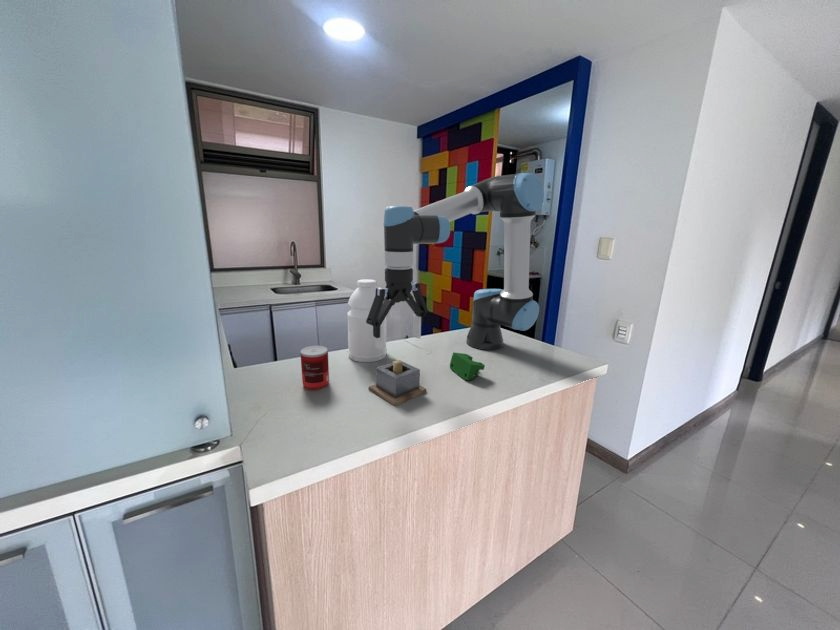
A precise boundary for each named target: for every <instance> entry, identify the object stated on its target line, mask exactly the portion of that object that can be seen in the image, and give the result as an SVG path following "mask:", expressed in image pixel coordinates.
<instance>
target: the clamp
mask: <svg viewBox="0 0 840 630" xmlns="http://www.w3.org/2000/svg"><path fill="white" fill-rule="evenodd" d="M473 358H474V357H473V356H471V355H470V354H467V353H462V352H461V353H460V352H454V351H453V353H452V355H451V359H450V363H449V368H450V370H452V371H453V373H455V374H457V375H458V376H459V377H460V378H462V379H463V380H465V381H472V380H473V379H474V377H478V375H479V372H480V370H481V371H484V370H485V366H486V365H485V364H484V363H482V362H480V361H479V362H478V361H474V360H473Z"/></svg>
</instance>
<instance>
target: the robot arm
mask: <svg viewBox="0 0 840 630" xmlns="http://www.w3.org/2000/svg"><path fill="white" fill-rule="evenodd" d="M544 199H545V189H544V185H543V182H542V180H541V179H540V177H539V176H538V175H536V174H535V173H532V172H519V173H514V174H505V175H496V176H492V177H489V178H486V179H483V180H482V181H479V182H477V183H474V184H472V185H469V186H468V187H466V188H464V190H463V192H460V193H457V194H454V195H452V196H449V197H446V198H444V199H441V200H438V201H435V202H433V203H429V204H428V205H425V206H423V207H420V208H416V209H414V208H413V206H407V205H405V206H401V205H399V206H398V205H392V206H386V207H385V208H384V213H383V230H384V231H383V241H384V242H383V243H384V265H385V269H384V281H385V287H383V288H382V287H379V286H378V287H377V286H376V294H375V298H374V301H373V304H372V306H371V309H370V312H369V315H368V317H367V320H366V323H367V324H370V325H372V326H373V336H374V337H375V343H376V348H379V349H381V350H383V349H384V326H382V325H381V324H382V322H383V321H384V319H385V317H386V318H387V316H388V315H389V312H390V310H391V308H392V307H393V306H394V305H395V304H396V303H401V302H406V304H407V305H408V306H409V307H410V309H411V310H412V312H413V313H414V314H413V315H412V337H413V338H416V339H421V337H422V336H421V335H422V326H423V317H426V314H427V313H428V312H429V309H428V307H427V304H426V301H425V299H424V296H423V292H422V290H421V283H420V282H416V281H415V282H414V269H413V268H412V267H413V266H414V245H417V244H418V245H419V244H420V245H422V244H425V245H426V244H437V245H438V244H441V243H445V242H446V241H447V240H449V237H450V234H451V224H450V223H451V222H454V221H456V220H457V219H460V218H463V217H465V216H468V215H470V214H472V215H477V214H480V213H485V212H499V219H500V220H501V221H502V222H503V225H504V227H503V229H504V232H503V233H504V239H503V240H504V243H503V244H504V249H503V251H504V253H503V254H504V256H503V257H504V259H503V263H504V265H503V266H504V267H503V268H504V269H503V275H504V277H503V289H501V288H483V289H481V288H480V289H478V290H475V292H474V293H473V299H472V315H471V326H470V327H469V331H468V333H467V336H466V340H465V341H466V345H468V346H469V347H471V348H475V349H478V350H488V351H492V350H493V351H495V350H500V349H501V348H503V346H504V338H503V332H502V329H501V326H504V327H508V328H510V329H513V330H518V331H524V332H525V331H528V330H529V329H531V327H533V326H534V325H535V323H536V321H537V319H538V317H539V313H540V305H539V303H538V302H537V301H535V300H534V299H533V298H534V297H533V296H534V294H533V292H532V291H531V290H530V288H529V286H530V282H529V281H530V255H531V254H530V253H531V252H530V250H531V222H532V220H533V219H534V218H535V217H536V211H538V210H539V209H541V207H542V205H543V202H544ZM411 292H412V293H411ZM412 294H413V295H412ZM383 301H384V303H383Z"/></svg>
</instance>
